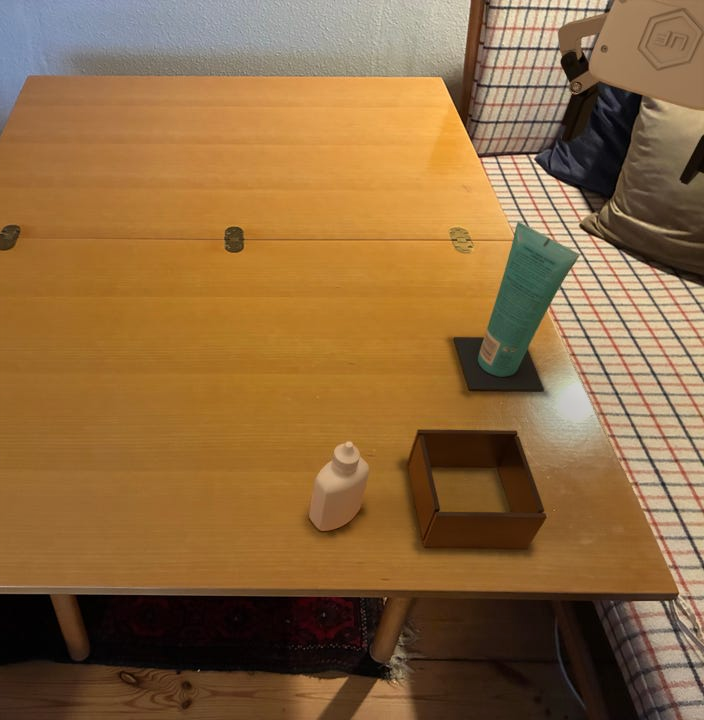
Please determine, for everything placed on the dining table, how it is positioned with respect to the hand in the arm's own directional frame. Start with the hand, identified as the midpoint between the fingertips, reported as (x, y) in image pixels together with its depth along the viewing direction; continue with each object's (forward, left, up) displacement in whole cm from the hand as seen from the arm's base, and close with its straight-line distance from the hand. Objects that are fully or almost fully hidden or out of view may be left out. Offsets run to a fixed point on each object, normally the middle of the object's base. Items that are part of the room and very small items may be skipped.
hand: (628, 156), depth 58 cm
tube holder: (-2, +14, -34) cm, 37 cm away
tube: (+5, -6, -34) cm, 34 cm away
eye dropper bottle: (+7, +25, -34) cm, 43 cm away
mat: (+5, -6, -34) cm, 35 cm away
